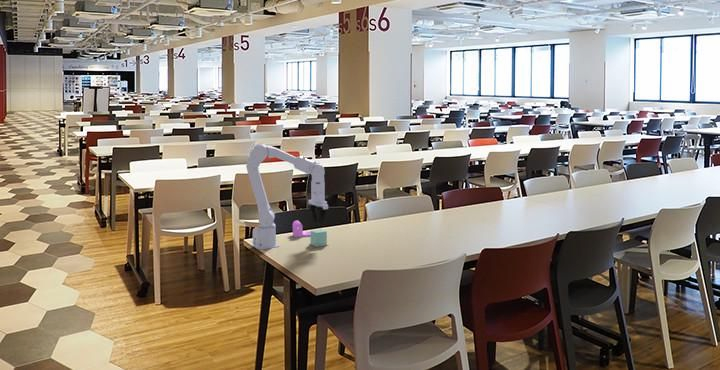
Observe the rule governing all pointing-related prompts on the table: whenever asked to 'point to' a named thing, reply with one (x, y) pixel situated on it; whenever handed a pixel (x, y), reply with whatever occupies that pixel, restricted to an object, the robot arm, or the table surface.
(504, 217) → the table surface
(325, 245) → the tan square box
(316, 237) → the teal cube
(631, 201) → the table surface
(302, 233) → the bracket
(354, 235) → the table surface
